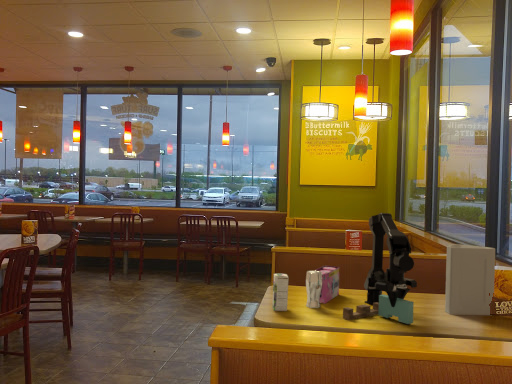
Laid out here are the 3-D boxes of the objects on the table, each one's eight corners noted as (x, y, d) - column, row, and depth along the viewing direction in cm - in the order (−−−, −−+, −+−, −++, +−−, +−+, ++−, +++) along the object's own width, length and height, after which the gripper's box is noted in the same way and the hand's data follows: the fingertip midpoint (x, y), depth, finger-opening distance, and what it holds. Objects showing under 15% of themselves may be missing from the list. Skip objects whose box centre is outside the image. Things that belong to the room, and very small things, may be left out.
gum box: (325, 304, 197) (325, 273, 197) (307, 302, 201) (308, 272, 201) (339, 294, 219) (339, 266, 219) (323, 292, 222) (324, 265, 222)
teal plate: (378, 315, 180) (379, 295, 180) (383, 314, 181) (383, 294, 181) (408, 324, 168) (408, 302, 168) (412, 322, 170) (413, 301, 170)
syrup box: (271, 307, 189) (273, 273, 189) (285, 307, 189) (286, 273, 190) (273, 311, 183) (274, 275, 183) (287, 311, 184) (288, 276, 184)
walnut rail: (376, 311, 187) (376, 302, 187) (382, 313, 185) (382, 303, 185) (342, 318, 176) (343, 307, 176) (348, 320, 173) (348, 309, 173)
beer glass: (320, 309, 189) (321, 273, 189) (304, 307, 190) (305, 272, 190) (321, 305, 196) (322, 271, 196) (305, 303, 197) (306, 269, 197)
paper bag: (475, 306, 203) (477, 244, 203) (494, 315, 188) (496, 248, 188) (434, 305, 202) (435, 243, 202) (449, 314, 187) (451, 247, 187)
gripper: (395, 262, 187) (393, 299, 187) (364, 265, 176) (363, 304, 176) (418, 266, 178) (417, 305, 178) (387, 269, 167) (386, 311, 167)
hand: (395, 306), depth 175 cm, fingers closed on teal plate, 3 cm apart
